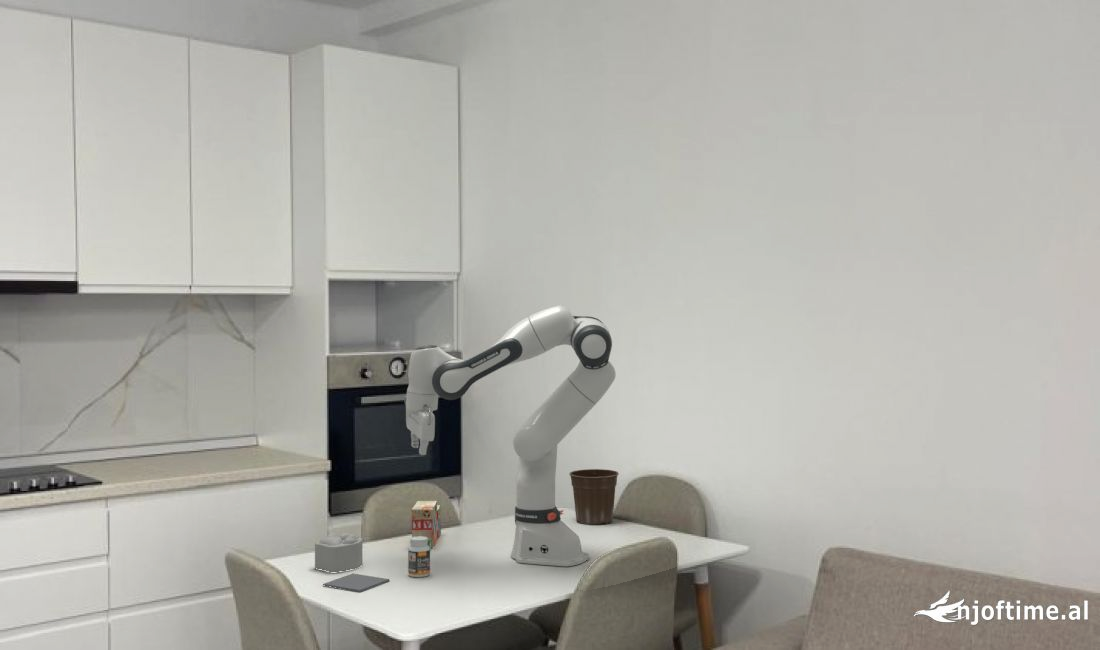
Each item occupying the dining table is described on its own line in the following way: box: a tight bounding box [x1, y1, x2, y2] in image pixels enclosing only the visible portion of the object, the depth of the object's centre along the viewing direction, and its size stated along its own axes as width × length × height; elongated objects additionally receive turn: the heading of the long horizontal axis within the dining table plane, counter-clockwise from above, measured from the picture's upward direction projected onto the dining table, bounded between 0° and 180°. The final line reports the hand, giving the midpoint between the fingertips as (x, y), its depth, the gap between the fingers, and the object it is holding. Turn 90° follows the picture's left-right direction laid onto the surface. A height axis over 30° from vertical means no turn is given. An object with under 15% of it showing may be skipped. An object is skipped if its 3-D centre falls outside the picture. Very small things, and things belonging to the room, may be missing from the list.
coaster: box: [322, 573, 390, 593], centre depth 278 cm, size 12×12×1 cm
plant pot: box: [569, 468, 620, 525], centre depth 356 cm, size 16×16×16 cm
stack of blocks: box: [411, 500, 442, 549], centre depth 326 cm, size 21×6×12 cm, turn 179°
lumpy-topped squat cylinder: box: [314, 532, 363, 572], centre depth 296 cm, size 10×13×9 cm
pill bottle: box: [407, 536, 431, 578], centre depth 287 cm, size 6×6×10 cm
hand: (418, 450), depth 304 cm, fingers open, 8 cm apart
